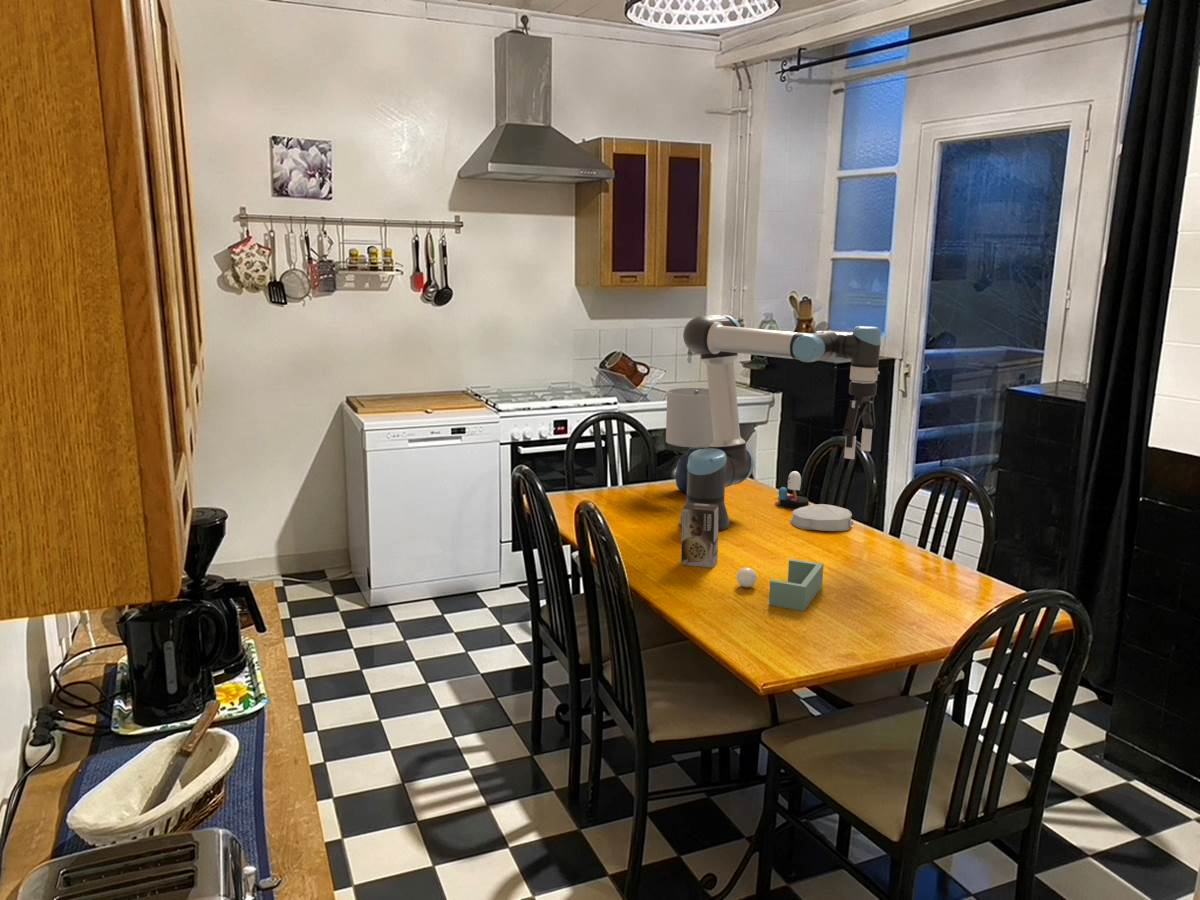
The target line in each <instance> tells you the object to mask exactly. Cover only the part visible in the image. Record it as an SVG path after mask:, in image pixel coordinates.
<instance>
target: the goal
mask: <svg viewBox="0 0 1200 900" xmlns="http://www.w3.org/2000/svg"><path fill="white" fill-rule="evenodd" d="M787 570H788V571H787V581H785V580H778V579H772V578H771V580H770V581H769V593H768V594H769V598H768V606H771V607H772V606H773V607H777V608H783V609H789V610H795V611H801V612H805V610H806V609H807V608H808V606H809V605H811V602H812V601H813V600H814V599H815V597H816V595H817V594H818V593H819V591H820V590H821V589H822V587H823V579H824V563H821V562H815V561H807V560H802V559H801V560H800V559H795V558H790V559H789V560H788V569H787Z"/></svg>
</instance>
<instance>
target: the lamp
mask: <svg viewBox="0 0 1200 900" xmlns="http://www.w3.org/2000/svg"><path fill="white" fill-rule="evenodd" d="M665 419H666V422H665V423H666V424H665V442H666V443H667V444H669V445H672V446H676V447H683V448H688V450H687V452H686V453H684V454H682V455H681V456H680V457H679V458H678V461H677V464H676V469H675V485H676V487H677V489H679V491H680V492H682V493H684V494H687V470H688V469H687V464H688V458H689V455H690V454H691V453H692V452H694V451H696V450H700V449H705V448H709V444H710V443H711V442H712V441H713V430H712V419H711V408H710V398H709V387H708V388H707V387H676V388H671V389H667V391H666V417H665Z"/></svg>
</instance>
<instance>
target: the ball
mask: <svg viewBox="0 0 1200 900" xmlns="http://www.w3.org/2000/svg"><path fill="white" fill-rule="evenodd" d="M757 579H758V576H757V573H756V572H755V570H754V569H752V568H751V567H743V568H741V569H740V570H738V572H737V574H736V581H737V583H738V584H739V585H740V586H741V587H743V588H751V587H753V586H755V585H756V583H757Z"/></svg>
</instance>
